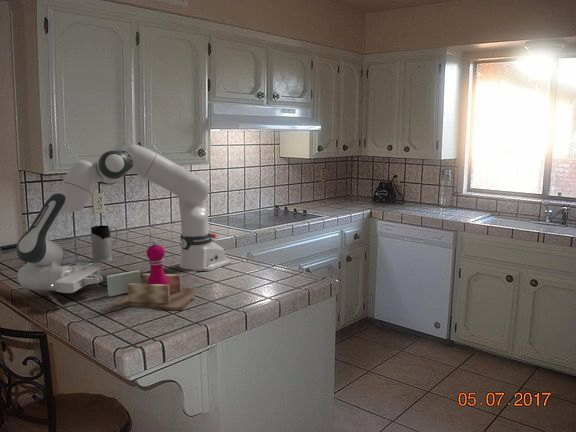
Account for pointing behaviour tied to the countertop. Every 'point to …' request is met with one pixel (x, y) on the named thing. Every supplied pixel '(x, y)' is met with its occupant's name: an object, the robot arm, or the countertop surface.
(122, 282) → the gate
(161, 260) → the pepper mill
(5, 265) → the countertop surface
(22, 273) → the robot arm
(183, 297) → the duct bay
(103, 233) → the grey black mug
